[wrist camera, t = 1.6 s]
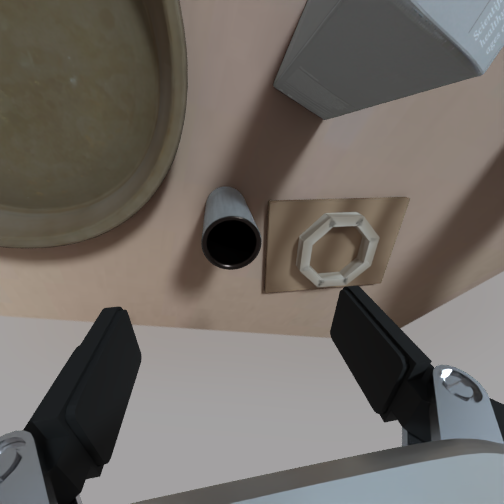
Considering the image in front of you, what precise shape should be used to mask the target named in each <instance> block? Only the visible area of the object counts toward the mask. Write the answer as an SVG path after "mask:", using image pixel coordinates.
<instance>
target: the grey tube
mask: <svg viewBox="0 0 504 504" xmlns="http://www.w3.org/2000/svg"><path fill="white" fill-rule="evenodd" d="M260 248H261V235H260V232H259V230H258V228H257V225H256V223H255V221H254V219H253V217H252V215H251V212H250V210H249V208H248V206H247V204H246V202H245V199H244V197H243V196H242V195H241V193H240V192H239V191H238V190H236V189H234V188H232V187H219V188H217V189H215V190H214V191H212V192H211V194H210V195H209V196H208V199H207V202H206V208H205V216H204V224H203V233H202V250H203V253H204V255H205V257H206V258H207V259H208V260H209V261H210V262H211V263H212V264H213V265H215V266H217V267H219V268H222V269H229V270H233V269H239V268H242V267H245V266H247V265H248V264H250V263H251V262H252V261H253V260H254V259H255V258H256V257H257V255H258V253H259V251H260Z"/></svg>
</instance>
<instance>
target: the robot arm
mask: <svg viewBox="0 0 504 504" xmlns="http://www.w3.org/2000/svg"><path fill="white" fill-rule="evenodd" d="M330 334H331V338H332V340H333V342H334V343H335V345H336V347H337V348H338V350H339V352H340V354H341V355H342V357H343V359H344V360H345V362H346V364H347V365H348V367H349V369H350V371H351V372H352V374H353V376H354V377H355V379H356V381H357V383H358V384H359V386H360V387H361V389H362V391H363V393H364V394H365V396H366V398H367V400H368V401H369V403H370V405H371V407H372V408H373V410H374V411H375V412H376V413H378V414H380V416H381V418H382V419H383V421H384V422H388V421H394V420H398V421H399V423H400V424H401V426H402V447H397V448H392V449H387V450H382V451H377V452H372V453H367V454H363V455H357V456H353V457H348V458H343V459H338V460H333V461H328V462H323V463H318V464H314V465H309V466H304V467H299V468H295V469H290V470H285V471H280V472H275V473H271V474H266V475H261V476H257V477H252V478H247V479H242V480H237V481H233V482H228V483H223V484H219V485H214V486H209V487H205V488H200V489H195V490H191V491H186V492H182V493H177V494H173V495H168V496H163V497H158V498H154V499H149V500H144V501H140V502H136V503H132V504H504V404H501V403H499V402H497V401H495V400H493V399H490V398H489V397H488V394H487V392H486V390H485V389H484V388H483V387H482V386H481V384H480V383H479V382H478V381H476V380H475V379H474V378H473V377H471V376H470V375H469V374H467V373H466V372H464V371H462V370H460V369H458V368H455V367H451V366H449V365H439V366H436V367H435V368H434V367H433V366H432V365H431V364H430V363H431V360H430V359H429V358H428V357H427V356H426V355H425V354H424V353H423V352H422V351H421V350H420V349H419V348H418V347H417V346H416V345H415V344H414V343H413V341H412V340H410V338H409V337H408V336H407V335H406V334H405V333H404V332H403V331H402V330H401V329H400V328H399V327H398V326H397V325H396V324H395V323H394V322H393V321H392V320H391V319H390V318H389V317H388V316H387V315H386V314H385V313H384V312H383V310H382V309H381V308H380V307H379V306H378V305H377V304H376V303H375V302H374V301H373V300H372V299H371V298H370V297H369V296H368V295H367V294H366V293H365V292H364V291H363V290H362V289H361V288H360V287H359V286H357V285H356V286H346V287H344V288H343V290H341V291H340V294H339V298H338V302H337V306H336V310H335V314H334V318H333V322H332V326H331V330H330ZM140 363H141V352H140V349H139V346H138V343H137V340H136V336H135V333H134V330H133V327H132V324H131V321H130V318H129V315H128V312H127V310H123V309H122V308H121V307H111V308H104V309H103V310H102V311H101V313H100V315H99V316H98V318H97V319H96V321H95V323H94V324H93V326H92V327H91V329H90V331H89V332H88V334H87V335H86V337H85V339H84V340H83V342H82V343H81V345H80V346H78V347H77V348H76V349H75V351H74V352H73V353H72V355H71V357H70V358H69V360H68V361H67V363H66V364H65V366H64V367H63V369H62V370H61V372H60V374H59V375H58V377H57V378H56V380H55V381H54V383H53V385H52V386H51V388H50V389H49V391H48V393H47V394H46V396H45V397H44V399H43V400H42V402H41V403H40V405H39V406H38V408H37V410H36V411H35V413H34V414H33V416H32V418H31V419H30V421H29V422H28V424H27V425H26V427H25V428H24V430H22V431H14V432H11V433H8V434H5V435H3V436H1V437H0V504H82V501H81V498H80V495H79V494H80V493H81V491H82V488H83V485H84V483H85V480H86V479H89V478H94V477H99V476H100V475H101V472H102V469H103V466H104V464H107V463H108V462H109V460H110V458H111V456H112V453H113V449H114V446H115V443H116V440H117V437H118V434H119V430H120V427H121V424H122V421H123V418H124V414H125V411H126V408H127V405H128V402H129V399H130V395H131V392H132V389H133V386H134V383H135V379H136V376H137V373H138V370H139V367H140Z"/></svg>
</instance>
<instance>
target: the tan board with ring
mask: <svg viewBox="0 0 504 504" xmlns="http://www.w3.org/2000/svg"><path fill="white" fill-rule="evenodd" d="M409 201H410V198H407V197H388V198H351V199H313V200H276V201H268V222H267V243H266V263H265V284H264V291H265V293H273V292H285V291H297V290H308V289H320V288H332V287H344V286H356V285H367V284H379V283H381V281H382V279H383V276H384V273H385V270H386V267H387V264H388V261H389V258H390V255H391V253H392V250H393V247H394V244H395V241H396V238H397V235H398V232H399V230H400V227H401V224H402V221H403V218H404V215H405V212H406V209H407V206H408V204H409Z"/></svg>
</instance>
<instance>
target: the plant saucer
mask: <svg viewBox="0 0 504 504" xmlns="http://www.w3.org/2000/svg"><path fill="white" fill-rule="evenodd" d="M187 87H188V78H187V50H186V41H185V33H184V25H183V19H182V13H181V7H180V2H179V0H0V247H7V248H47V247H56V246H64V245H69V244H73V243H78V242H81V241H85V240H88V239H91V238H94V237H96V236H99V235H101V234H103V233H106V232H108V231H110V230H111V229H113V228H115V227H117V226H119V225H120V224H122V223H123V222H125V221H126V220H127V219H129V218H130V217H131V216H133V215H134V214H135V213H136V212H137V211H138V210H140V209H141V208H142V207H143V206H144V205H145V204H146V203H147V202H148V201H149V199H150V198H151V197H152V196H153V194H154V193H155V192H156V190H157V189H158V188H159V186H160V185H161V183H162V181H163V180H164V178H165V176H166V175H167V173H168V171H169V169H170V166H171V164H172V162H173V160H174V157H175V154H176V152H177V149H178V145H179V142H180V138H181V134H182V129H183V124H184V119H185V111H186V101H187Z"/></svg>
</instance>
